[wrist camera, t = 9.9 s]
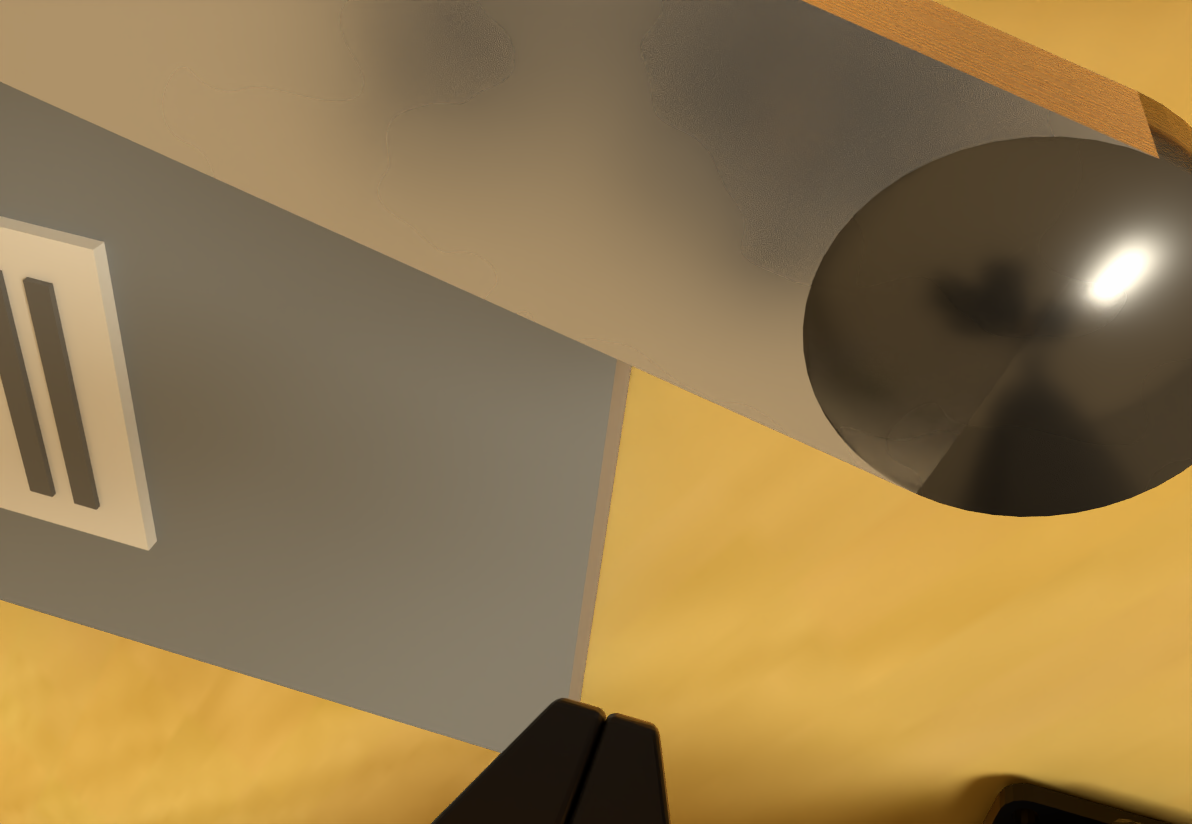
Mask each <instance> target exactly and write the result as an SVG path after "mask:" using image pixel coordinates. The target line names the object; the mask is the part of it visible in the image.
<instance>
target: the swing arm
mask: <svg viewBox="0 0 1192 824" xmlns="http://www.w3.org/2000/svg"><path fill="white" fill-rule="evenodd" d="M0 82H2V83H4V84H7V85H9V86H11V87H13V88H15V89H18V90H20V91H22V92H24V93H27V94H29V95H31V96H33V97H35V98H38V99H40V100H42V101H44V102H47V103H49V104H51V105H53V106H55V107H58V108H60V109H62V110H64V111H67V112H69V113H71V114H73V115H75V116H78V117H80V118H82V119H84V120H87V121H89V122H91V123H93V124H95V125H98V126H100V127H102V128H104V129H107V130H109V131H111V132H113V133H115V134H118V135H120V136H122V137H124V138H127V139H129V140H131V141H133V142H135V143H138V144H140V145H142V146H144V147H147V148H149V149H151V150H153V151H155V152H158V153H160V154H162V155H164V156H167V157H169V158H171V159H173V160H175V161H178V162H180V163H182V164H184V165H187V166H189V167H191V168H193V169H195V170H198V171H200V172H202V173H204V174H207V175H209V176H211V177H213V178H215V179H218V180H220V181H222V182H224V183H227V184H229V185H231V186H233V187H235V188H238V189H240V190H242V191H244V192H247V193H249V194H251V195H253V196H255V197H258V198H260V199H262V200H264V201H267V202H269V203H271V204H273V205H275V206H278V207H280V208H282V209H284V210H287V211H289V212H291V213H293V214H295V215H298V216H300V217H302V218H304V219H307V220H309V221H311V222H313V223H315V224H318V225H320V226H322V227H324V228H327V229H329V230H331V231H333V232H335V233H338V234H340V235H342V236H344V237H347V238H349V239H351V240H353V241H356V242H358V243H360V244H362V245H364V246H367V247H369V248H371V249H373V250H376V251H378V252H380V253H382V254H384V255H387V256H389V257H391V258H393V259H396V260H398V261H400V262H402V263H404V264H407V265H409V266H411V267H413V268H416V269H418V270H420V271H422V272H424V273H427V274H429V275H431V276H433V277H436V278H438V279H440V280H442V281H444V282H447V283H449V284H451V285H453V286H456V287H458V288H460V289H462V290H464V291H467V292H469V293H471V294H473V295H476V296H478V297H480V298H482V299H484V300H487V301H489V302H491V303H493V304H496V305H498V306H500V307H502V308H504V309H507V310H509V311H511V312H513V313H516V314H518V315H520V316H522V317H524V318H527V319H529V320H531V321H533V322H536V323H538V324H540V325H542V326H544V327H547V328H549V329H551V330H553V331H556V332H558V333H560V334H562V335H564V336H567V337H569V338H571V339H573V340H576V341H578V342H580V343H582V344H584V345H587V346H589V347H591V348H593V349H596V350H598V351H600V352H602V353H604V354H607V355H609V356H611V357H613V358H616V359H618V360H620V361H622V362H624V363H627V364H629V365H631V366H633V367H636V368H638V369H640V370H642V371H644V372H647V373H649V374H651V375H653V376H656V377H658V378H660V379H662V380H664V381H667V382H669V383H671V384H673V385H676V386H678V387H680V388H682V389H684V390H687V391H689V392H691V393H693V394H696V395H698V396H700V397H702V398H704V399H707V400H709V401H711V402H713V403H716V404H718V405H720V406H722V407H724V408H727V409H729V410H731V411H733V412H736V413H738V414H740V415H742V416H744V417H747V418H749V419H751V420H753V421H756V422H758V423H760V424H762V425H764V426H767V427H769V428H771V429H773V430H776V431H778V432H780V433H782V434H785V435H787V436H789V437H791V438H793V439H796V440H798V441H800V442H802V443H805V444H807V445H809V446H811V447H813V448H816V449H818V450H820V451H822V452H825V453H827V454H829V455H831V456H833V457H836V458H838V459H840V460H842V461H845V462H847V463H849V464H851V465H853V466H856V467H858V468H860V469H862V470H865V471H867V472H869V473H871V474H873V475H876V476H878V477H880V478H882V479H885V480H887V481H889V482H891V483H893V484H896V485H898V486H900V487H902V488H905V489H907V490H909V491H911V492H913V493H916V494H918V495H921V496H923V497H926V498H928V499H931V500H934V501H936V502H939V503H942V504H945V505H949V506H953V507H956V508H960V509H964V510H968V511H974V512H980V513H985V514H991V515H1003V516H1017V517H1030V516H1053V515H1061V514H1070V513H1077V512H1082V511H1086V510H1091V509H1095V508H1100V507H1104V506H1107V505H1110V504H1114V503H1117V502H1120V501H1123V500H1126V499H1129V498H1132V497H1134V496H1136V495H1139V494H1141V493H1143V492H1145V491H1148V490H1150V489H1152V488H1154V487H1157V486H1158V485H1160V484H1162V483H1164V482H1165V481H1167V480H1169V479H1171V478H1172V477H1174V476H1176V475H1177V474H1179V473H1181V472H1182V471H1184V470H1185V469H1186V468H1188V467H1189V466H1191V465H1192V128H1191V127H1190V126H1189V125H1188V124H1187V123H1186V122H1185V121H1184V120H1183V119H1181V118H1180V117H1179V116H1177V115H1176V114H1175V113H1173V112H1172V111H1171V110H1169V109H1168V108H1166V107H1165V106H1164V105H1162V104H1160V103H1158V102H1157V101H1155V100H1153V99H1151V98H1149V97H1147V96H1145V95H1143V94H1141V93H1140V92H1138V91H1135V90H1133V89H1131V88H1129V87H1126V86H1124V85H1122V84H1120V83H1117V82H1115V81H1113V80H1111V79H1108V78H1106V77H1104V76H1101V75H1099V74H1097V73H1095V72H1092V71H1090V70H1088V69H1086V68H1083V67H1081V66H1079V65H1077V64H1074V63H1072V62H1070V61H1068V60H1065V59H1063V58H1061V57H1059V56H1056V55H1054V54H1052V53H1049V52H1047V51H1045V50H1043V49H1040V48H1038V47H1036V46H1034V45H1031V44H1029V43H1027V42H1025V41H1022V40H1020V39H1018V38H1016V37H1013V36H1011V35H1009V34H1007V33H1004V32H1002V31H1000V30H997V29H995V28H993V27H991V26H988V25H986V24H984V23H982V22H979V21H977V20H975V19H973V18H970V17H968V16H966V15H964V14H961V13H959V12H957V11H954V10H952V9H950V8H948V7H945V6H943V5H941V4H939V3H936V2H934V1H932V0H0Z"/></svg>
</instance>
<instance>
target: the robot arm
mask: <svg viewBox="0 0 1192 824" xmlns="http://www.w3.org/2000/svg"><path fill="white" fill-rule="evenodd" d="M431 824H671V821H670V813H669V805H668V797H667V789H666V781H665V773H664V765H663V757H662V748H661V740H660V734H659V731H658V729H657V727H656V726H655V725H654V724H652V723H650V722H647V721H643V720H640V719H636V718H633V717H629V716H626V715H623V714H619V713H614V714H610V715H609V716H608V717H607V719H606V715H605V712H604V711H603V710H602V709H600V708H599V707H595V706H592V705H588V704H585V703H582V702H578V701H575V700H571V699H568V698H559V699H556V700H555V701H553V702H552V703H551V704H550V705H548V706H547V707H546V708H545V709H544V710H543V711H542V712H541V713H540V714H539V715H538V716H537V717H536V718H535V719H534V720H533V721H532V722H531V723H530V724H529V725H528V726H527V728H526V729H525V730H524V731H523V732H522V733H521V734H520V735H519V736H518V737H517V738H516V739H515V740H514V741H513V742H512V743H511V744H510V745H509V746H508V747H507V748H506V749H505V750H504V751H503V752H502V753H501V754H500V755H499V756H498V757H497V758H496V759H495V760H494V761H493V762H492V763H491V764H490V765H489V766H488V767H487V768H486V769H485V770H484V771H483V772H482V773H481V774H480V775H479V776H478V777H477V778H476V779H475V780H474V781H473V782H472V783H471V784H470V785H469V786H468V787H467V788H466V789H465V790H464V791H463V792H462V793H461V794H460V795H459V796H458V797H457V798H456V799H455V800H454V801H453V802H452V803H451V804H450V805H449V806H448V807H447V808H446V809H445V810H444V811H443V812H442V813H441V814H440V815H439V816H438V817H437V818H436V819H435V820H434V821H433V822H432V823H431ZM983 824H1166V823H1163V822H1159V821H1156V820H1152V819H1149V818H1145V817H1142V816H1139V815H1135V814H1132V813H1128V812H1125V811H1121V810H1118V809H1114V808H1111V807H1107V806H1104V805H1100V804H1097V803H1093V802H1090V801H1087V800H1083V799H1080V798H1076V797H1073V796H1069V795H1066V794H1062V793H1059V792H1055V791H1052V790H1048V789H1045V788H1042V787H1038V786H1035V785H1029V784H1023V783H1022V784H1012V785H1010V786H1007V787H1005V788H1004V789H1003V790H1002V791H1001V792H1000V793H999V795H998V796H997V798H996V800H995V802H994V804H993V806H992V808H991V809H990V811H989V813H988V815H987V817H986V819H985V820H984V822H983Z"/></svg>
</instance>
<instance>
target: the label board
mask: <svg viewBox="0 0 1192 824" xmlns="http://www.w3.org/2000/svg"><path fill="white" fill-rule="evenodd" d="M630 372H631V365H629V364H627V363H624V362H622V361H620V360H618V359H616V358H613V357H611V356H609V355H607V354H604V353H602V352H600V351H598V350H596V349H593V348H591V347H589V346H587V345H584V344H582V343H580V342H578V341H576V340H573V339H571V338H569V337H567V336H564V335H562V334H560V333H558V332H556V331H553V330H551V329H549V328H547V327H544V326H542V325H540V324H538V323H536V322H533V321H531V320H529V319H527V318H524V317H522V316H520V315H518V314H516V313H513V312H511V311H509V310H507V309H504V308H502V307H500V306H498V305H496V304H493V303H491V302H489V301H487V300H484V299H482V298H480V297H478V296H476V295H473V294H471V293H469V292H467V291H464V290H462V289H460V288H458V287H456V286H453V285H451V284H449V283H447V282H444V281H442V280H440V279H438V278H436V277H433V276H431V275H429V274H427V273H424V272H422V271H420V270H418V269H416V268H413V267H411V266H409V265H407V264H404V263H402V262H400V261H398V260H396V259H393V258H391V257H389V256H387V255H384V254H382V253H380V252H378V251H376V250H373V249H371V248H369V247H367V246H364V245H362V244H360V243H358V242H356V241H353V240H351V239H349V238H347V237H344V236H342V235H340V234H338V233H335V232H333V231H331V230H329V229H327V228H324V227H322V226H320V225H318V224H315V223H313V222H311V221H309V220H307V219H304V218H302V217H300V216H298V215H295V214H293V213H291V212H289V211H287V210H284V209H282V208H280V207H278V206H275V205H273V204H271V203H269V202H267V201H264V200H262V199H260V198H258V197H255V196H253V195H251V194H249V193H247V192H244V191H242V190H240V189H238V188H235V187H233V186H231V185H229V184H227V183H224V182H222V181H220V180H218V179H215V178H213V177H211V176H209V175H207V174H204V173H202V172H200V171H198V170H195V169H193V168H191V167H189V166H187V165H184V164H182V163H180V162H178V161H175V160H173V159H171V158H169V157H167V156H164V155H162V154H160V153H158V152H155V151H153V150H151V149H149V148H147V147H144V146H142V145H140V144H138V143H135V142H133V141H131V140H129V139H127V138H124V137H122V136H120V135H118V134H115V133H113V132H111V131H109V130H107V129H104V128H102V127H100V126H98V125H95V124H93V123H91V122H89V121H87V120H84V119H82V118H80V117H78V116H75V115H73V114H71V113H69V112H67V111H64V110H62V109H60V108H58V107H55V106H53V105H51V104H49V103H47V102H44V101H42V100H40V99H38V98H35V97H33V96H31V95H29V94H27V93H24V92H22V91H20V90H18V89H15V88H13V87H11V86H9V85H7V84H4V83H2V82H0V600H3V601H6V602H9V603H13V604H16V605H19V606H23V607H26V608H29V609H32V610H36V611H39V612H42V613H45V614H49V615H52V616H55V617H59V618H62V619H65V620H68V621H72V622H75V623H78V624H81V625H85V626H88V627H91V628H94V629H98V630H101V631H104V632H108V633H111V634H114V635H117V636H121V637H124V638H127V639H130V640H134V641H137V642H140V643H144V644H147V645H150V646H153V647H157V648H160V649H163V650H166V651H170V652H173V653H176V654H179V655H183V656H186V657H189V658H193V659H196V660H199V661H202V662H206V663H209V664H212V665H215V666H219V667H222V668H225V669H229V670H232V671H235V672H238V673H242V674H245V675H248V676H251V677H255V678H258V679H261V680H264V681H268V682H271V683H274V684H278V685H281V686H284V687H287V688H291V689H294V690H297V691H300V692H304V693H307V694H310V695H314V696H317V697H320V698H323V699H327V700H330V701H333V702H336V703H340V704H343V705H346V706H349V707H353V708H356V709H359V710H363V711H366V712H369V713H372V714H376V715H379V716H382V717H385V718H389V719H392V720H395V721H399V722H402V723H405V724H408V725H412V726H415V727H418V728H421V729H425V730H428V731H431V732H434V733H438V734H441V735H444V736H448V737H451V738H454V739H457V740H461V741H464V742H467V743H470V744H474V745H477V746H480V747H484V748H487V749H490V750H493V751H497V752H500V753H502V752H503V751H504V750H505V749H506V748H507V747H508V746H509V745H510V744H511V743H512V742H513V741H514V740H515V739H516V738H517V737H518V736H519V735H520V734H521V733H522V732H523V731H524V730H525V729H526V728H527V726H528V725H529V724H530V723H531V722H532V721H533V720H534V719H535V718H536V717H537V716H538V715H539V714H540V713H541V712H542V711H543V710H544V709H545V708H546V707H547V706H548V705H550V704H551V703H552V702H553V701H555V700H556V699H559V698H568V699H571V700H575V701H578V702H580V698H581V692H582V685H583V679H584V672H585V665H586V659H587V652H588V646H589V639H590V633H591V626H592V620H593V613H594V607H595V600H596V594H597V587H598V581H599V574H600V568H601V561H602V555H603V548H604V542H605V535H606V529H607V522H608V515H609V509H610V502H611V496H612V489H613V483H614V476H615V470H616V463H617V457H618V450H619V444H620V437H621V431H622V424H623V418H624V411H625V405H626V398H627V392H628V385H629V378H630Z"/></svg>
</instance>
